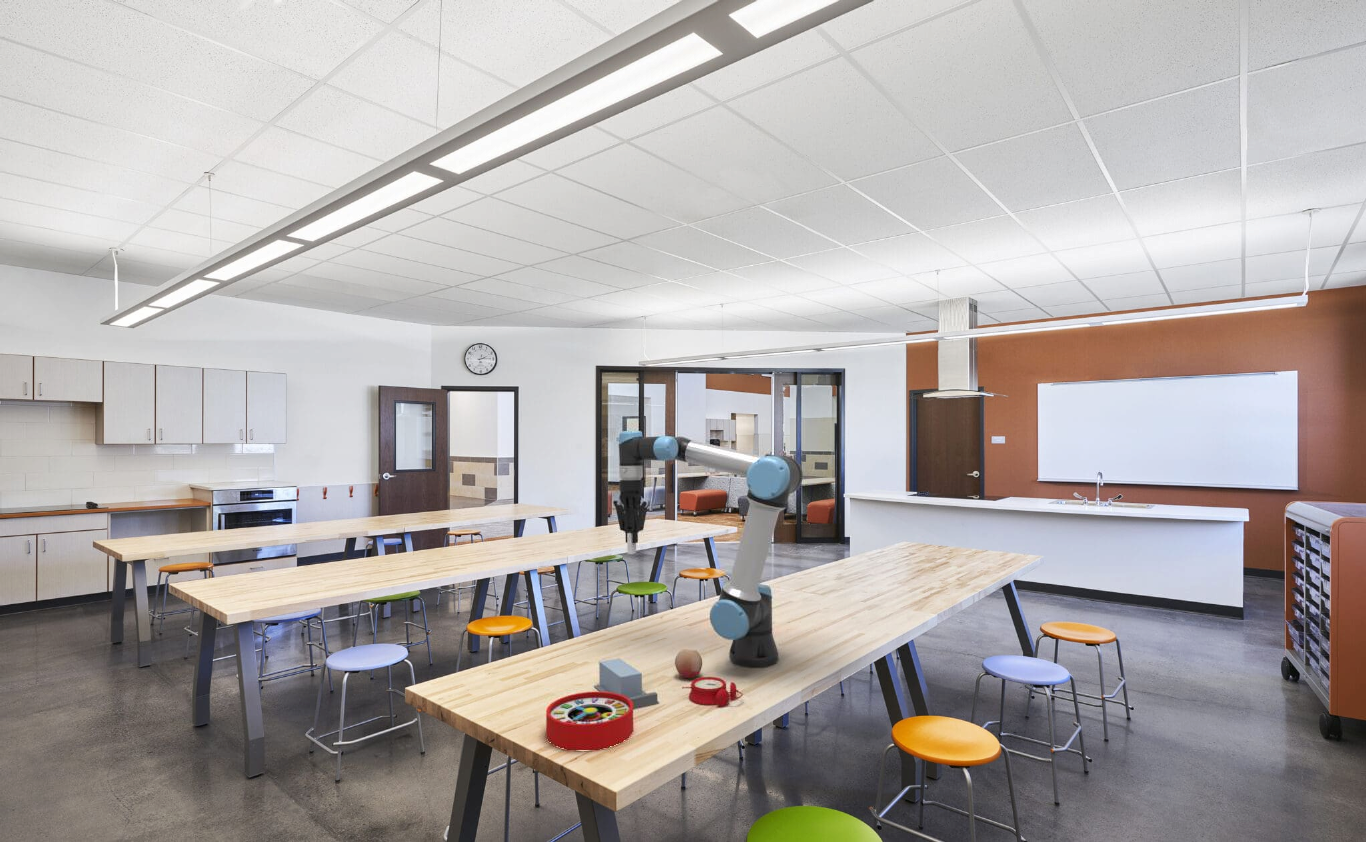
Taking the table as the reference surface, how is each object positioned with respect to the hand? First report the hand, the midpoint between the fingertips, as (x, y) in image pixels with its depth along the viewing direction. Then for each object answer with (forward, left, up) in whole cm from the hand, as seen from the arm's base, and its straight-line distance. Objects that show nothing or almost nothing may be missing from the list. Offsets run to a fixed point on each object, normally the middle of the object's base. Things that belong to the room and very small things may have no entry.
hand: (631, 553), depth 210 cm
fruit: (-25, +8, -33) cm, 42 cm away
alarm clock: (-39, +19, -33) cm, 55 cm away
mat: (-17, +28, -32) cm, 46 cm away
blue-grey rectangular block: (-8, +23, -29) cm, 38 cm away
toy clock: (-23, +51, -33) cm, 65 cm away
